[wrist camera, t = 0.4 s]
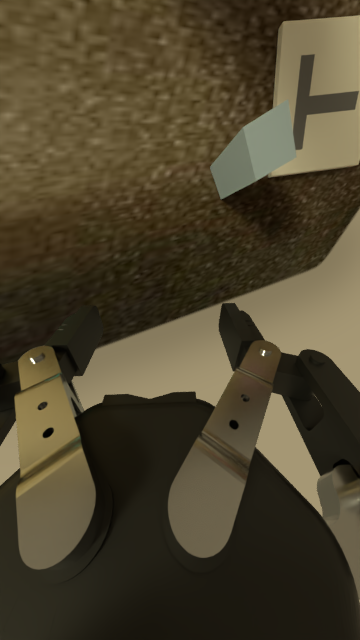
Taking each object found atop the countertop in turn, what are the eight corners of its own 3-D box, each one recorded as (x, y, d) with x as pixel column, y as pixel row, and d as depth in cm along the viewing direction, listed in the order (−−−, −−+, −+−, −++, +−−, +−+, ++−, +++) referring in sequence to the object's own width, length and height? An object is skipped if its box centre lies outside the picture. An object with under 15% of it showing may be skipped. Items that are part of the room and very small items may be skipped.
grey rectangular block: (210, 166, 29) (243, 127, 18) (237, 149, 29) (288, 99, 18) (221, 199, 31) (256, 181, 21) (246, 184, 31) (296, 157, 20)
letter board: (278, 29, 24) (283, 21, 23) (387, 20, 25) (395, 12, 24) (267, 177, 31) (271, 176, 30) (352, 166, 32) (358, 164, 31)
